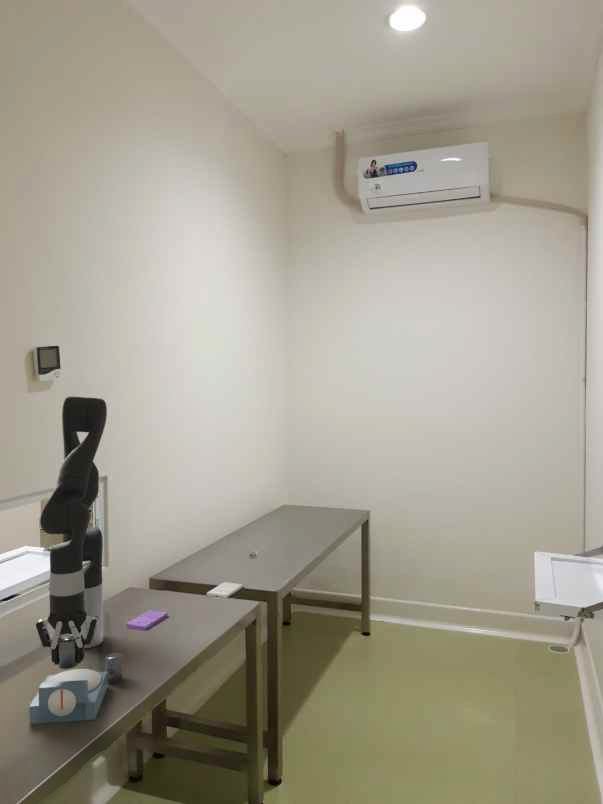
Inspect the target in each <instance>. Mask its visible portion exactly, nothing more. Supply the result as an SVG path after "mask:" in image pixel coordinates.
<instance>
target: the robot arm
mask: <svg viewBox="0 0 603 804" xmlns="http://www.w3.org/2000/svg"><path fill="white" fill-rule="evenodd" d="M107 412H108V408H107V403H106V401H105V400H104V399H103V398H98V397H97V398H96V397H90V396H89V397H86V396H70V395H69V396H67V397H65V398H64V400H63V401H62V405H61V414H60V417H61V418H60V419H61V430H62V443H63V445H62V446H63V461H62V463H61V466H60V469H59V471H58V476H57V480H56V485H55V487H54V490H53V491H52V494H51V496H49V497H50V498H49V499H48V500H47V502H46V503H45V505H44V507H43V509H42V511H41V514H40V518H39V519H40V521H39V523H40V527H41V529H42V531H43V532H44V533H46V534H48V535H62V542H61V543H60V542H59V543H57V544H54V545H53V546H52V547H51V549H50V552H49V567H50V569H49V571H50V572H49V582H48V585H49V586H48V592H49V593H48V594H49V615H48V617H46V618H39V620H38V621H37V622H36V623H35V627H36V630H37V634H38V637H39V639H40V642H41V645H42V648H50V651H51V654H50V655H51V662H52V663H53V664H54V666H58V640H59V638H61V637H62V635H63V636H65V635H67V634H68V635H73V637H74V639H75V640H76V643H77V646H78V647H77V663H79V664H81V663H82V661H83V660H84V659H85V658H86V657H85V655H86V654H85V653H86V652H85V651H86V650H85V649H91V648H95V647H97V646H100V645H101V644H102V643H103V641H104V615H103V614H104V612H103V611H104V605H103V603H104V602H103V601H104V599H103V596H104V595H103V545H104V544H103V543H104V542H103V541H104V539H103V533H102V530H101V529H100V528H98V527H90V528H88V527H89V525H90V524H89V523H90V519H91V512H90V508H91V506H92V505H93V504H94V502H95V501H96V499H97V497H98V495H99V490H100V489H99V485H100V483H99V482H100V481H99V480H100V479H99V478H100V474H99V470H98V468H97V465H96V463H95V462H94V459H95V457H96V454H97V451H98V449H99V446H100V442H101V439H102V438H103V437H102V436H103V434H104V430H105V427H106V423H107V415H108V413H107ZM78 433H87V435H86V437H84V439H83V440H82V441H81V442H80V439H79V436H78ZM84 562H89V563H88V564H86V566H85V567H84V566H83V563H84ZM49 625H50V626H51V628H52V629H53V630H54V632H53V637H52V639H51V636H50V634H49V631H48V627H49Z"/></svg>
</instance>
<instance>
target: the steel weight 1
mask: <svg viewBox="0 0 603 804" xmlns="http://www.w3.org/2000/svg"><path fill="white" fill-rule="evenodd" d="M77 647H78V646H77V643H76V640H75V639H74V637H73V635H70V634H68V635H63V636H61V637H60V638H59V640H58V665H57V667H58V668H59V669H62V670H70V669H72V668H75V667H77V666H78V665H79V664H80V663H77Z"/></svg>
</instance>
